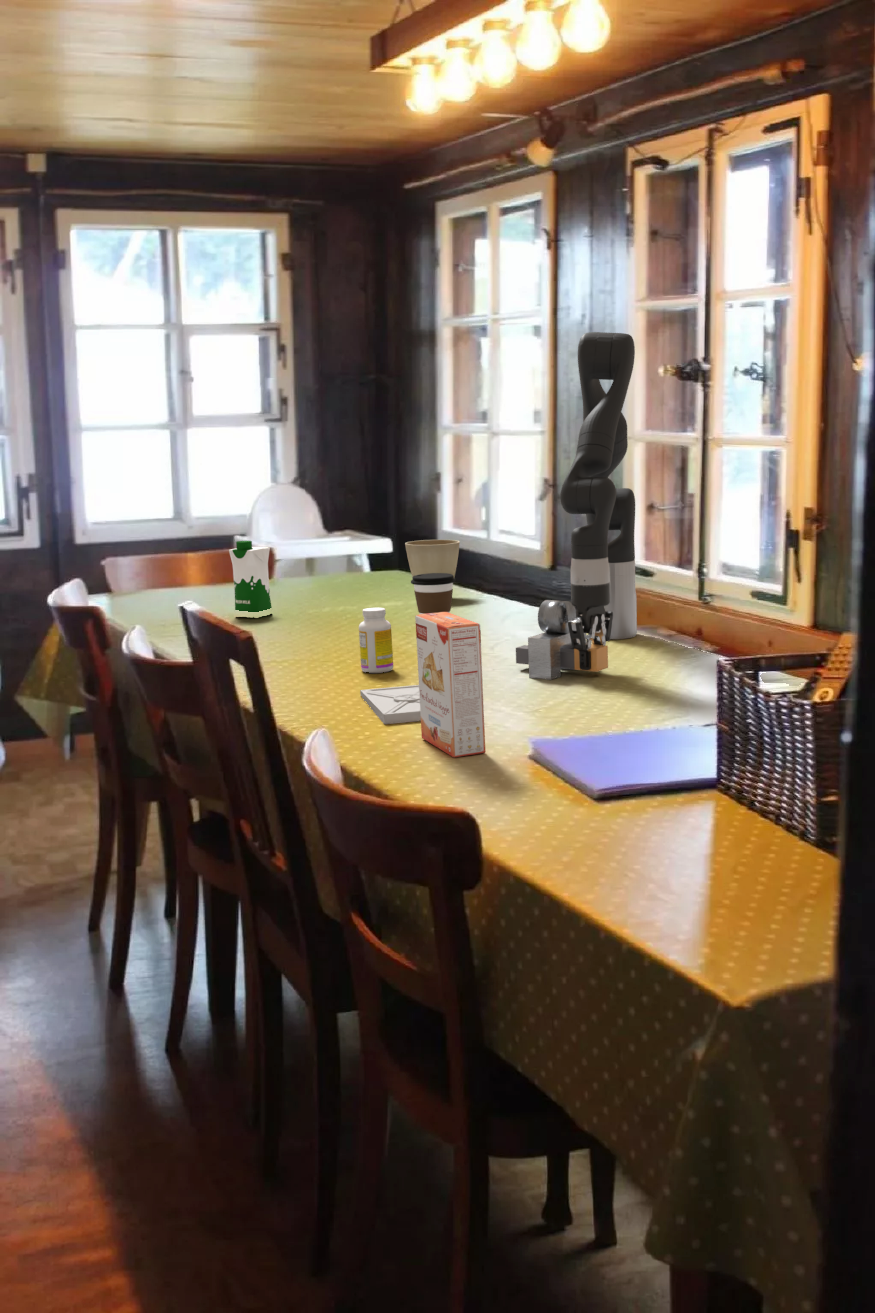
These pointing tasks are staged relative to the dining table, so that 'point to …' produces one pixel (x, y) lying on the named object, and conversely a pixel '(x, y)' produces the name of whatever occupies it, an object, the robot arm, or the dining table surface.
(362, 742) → the dining table surface
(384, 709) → the envelope
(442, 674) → the cracker box
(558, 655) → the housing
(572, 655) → the plug
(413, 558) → the plant pot
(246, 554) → the milk carton
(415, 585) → the coffee cup
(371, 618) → the supplement bottle
